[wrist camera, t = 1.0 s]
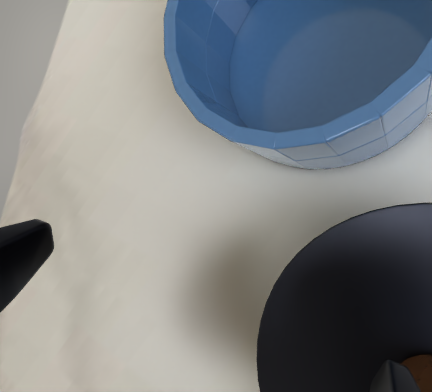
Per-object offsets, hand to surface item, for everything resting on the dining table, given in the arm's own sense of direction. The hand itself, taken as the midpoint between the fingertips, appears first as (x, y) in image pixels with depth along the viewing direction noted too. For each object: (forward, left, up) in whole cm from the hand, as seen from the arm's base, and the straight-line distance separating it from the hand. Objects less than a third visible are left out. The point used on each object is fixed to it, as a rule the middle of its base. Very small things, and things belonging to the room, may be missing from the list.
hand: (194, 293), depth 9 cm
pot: (+8, -8, -12) cm, 17 cm away
